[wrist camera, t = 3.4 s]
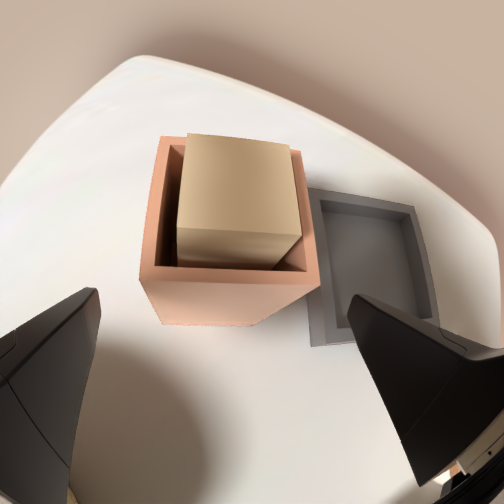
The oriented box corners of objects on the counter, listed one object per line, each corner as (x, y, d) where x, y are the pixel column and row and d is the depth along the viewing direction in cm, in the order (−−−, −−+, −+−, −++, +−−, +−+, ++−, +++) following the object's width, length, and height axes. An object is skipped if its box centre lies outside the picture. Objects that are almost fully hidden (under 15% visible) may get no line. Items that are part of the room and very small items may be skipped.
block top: (263, 197, 14) (288, 144, 11) (268, 272, 13) (301, 235, 9) (183, 191, 14) (187, 133, 10) (177, 269, 12) (176, 227, 8)
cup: (249, 243, 23) (300, 150, 13) (252, 325, 20) (320, 284, 11) (166, 238, 21) (160, 136, 11) (162, 324, 19) (139, 279, 9)
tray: (399, 217, 28) (413, 206, 26) (422, 331, 24) (440, 327, 21) (296, 203, 25) (306, 187, 23) (310, 346, 21) (325, 343, 18)
